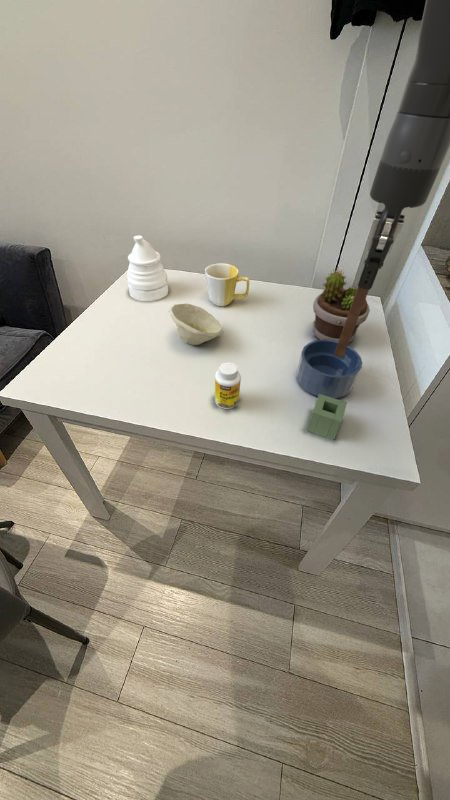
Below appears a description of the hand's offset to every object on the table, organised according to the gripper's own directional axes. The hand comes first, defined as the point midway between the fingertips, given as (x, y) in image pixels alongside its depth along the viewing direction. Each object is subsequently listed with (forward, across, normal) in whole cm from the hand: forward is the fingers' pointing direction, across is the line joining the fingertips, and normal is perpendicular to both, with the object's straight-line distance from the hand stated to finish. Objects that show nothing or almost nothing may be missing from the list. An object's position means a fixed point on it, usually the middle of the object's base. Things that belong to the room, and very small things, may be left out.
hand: (365, 284), depth 55 cm
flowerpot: (+30, +28, +3) cm, 40 cm away
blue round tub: (+29, +8, +1) cm, 30 cm away
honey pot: (+30, +26, +64) cm, 75 cm away
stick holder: (+29, -7, -2) cm, 30 cm away
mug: (+30, +31, +38) cm, 57 cm away
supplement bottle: (+30, -9, +20) cm, 37 cm away
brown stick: (+15, 0, 0) cm, 15 cm away
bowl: (+30, +9, +37) cm, 48 cm away
